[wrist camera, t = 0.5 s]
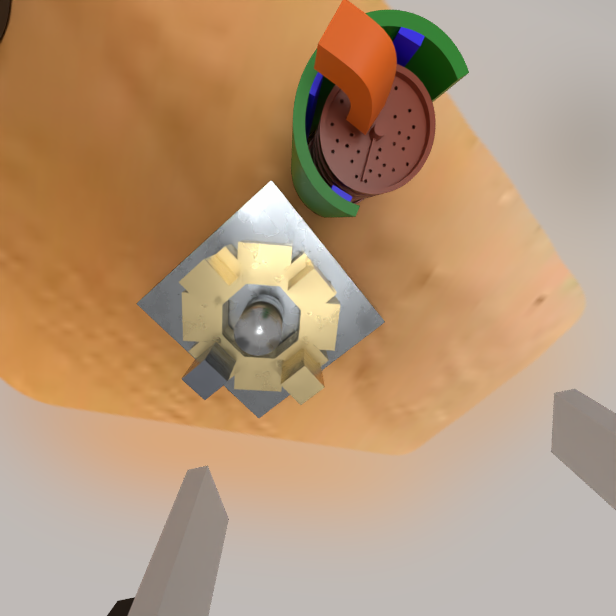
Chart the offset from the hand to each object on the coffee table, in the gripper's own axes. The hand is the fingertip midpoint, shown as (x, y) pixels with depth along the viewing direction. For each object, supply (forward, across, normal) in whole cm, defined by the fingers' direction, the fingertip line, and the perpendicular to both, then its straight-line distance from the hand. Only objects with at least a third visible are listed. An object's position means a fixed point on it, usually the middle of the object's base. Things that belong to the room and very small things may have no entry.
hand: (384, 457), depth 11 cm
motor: (+25, +4, +13) cm, 29 cm away
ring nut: (+23, -7, 0) cm, 24 cm away
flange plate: (+25, -7, 0) cm, 26 cm away
